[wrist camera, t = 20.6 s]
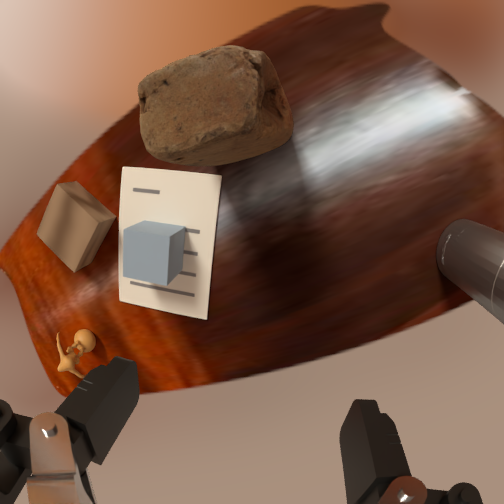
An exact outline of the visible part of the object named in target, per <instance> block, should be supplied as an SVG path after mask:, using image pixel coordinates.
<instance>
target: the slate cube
mask: <svg viewBox="0 0 504 504" xmlns="http://www.w3.org/2000/svg"><path fill="white" fill-rule="evenodd" d="M185 229H186V226H179V225H173V224H166V223H159V222H153V221H146V220H144V221H142V222H139V223H137V224H135V225H132V226H130V227H128V228H125V229H124V231H123V277H127V278H131V279H136V280H141V281H145V282H150V283H155V284H160V285H165V286H168V284H169V283H170V282H171V281H172V280H173V279H174V278H175V277H176V276H177V275H178V274H179V273H180V272H181V271H182V267H183V253H184V241H185Z"/></svg>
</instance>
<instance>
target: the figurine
mask: <svg viewBox="0 0 504 504" xmlns="http://www.w3.org/2000/svg"><path fill="white" fill-rule="evenodd" d="M74 343H75V344H73V345H72V346H71V347H68V349H67V353H69V354H68V355H64V353H63V351H62V348H61V346H60V340H59V333H58V334H57V346H58V350H59V353H60V358H61V362H60V364H59V366H58V371H60V372H62V371H70V372H72V373H74V374H75V375H77V376H78V377H80V378H84V377H85V376H86V375H87V374H86V375H81V374H80V373H79V372H77V371H76V370H75V369H74V367H75V364H78V363H79V359H80V358H79V357H80V356H82V355H83V352H90V351H91V350H93V349H94V347H95V345H96V339H95V336H94V334H93V333H92V332H91V331H89V330H87V329H82V330H79V331H78V332H77V333H76V334H75V337H74ZM76 347H77V348H78V349H79V350H80V351H81V352H79V353H78V355H76V354H75V353H74V350H73V348H76Z"/></svg>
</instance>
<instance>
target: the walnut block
mask: <svg viewBox="0 0 504 504" xmlns="http://www.w3.org/2000/svg"><path fill="white" fill-rule="evenodd" d="M115 218H116V216H115V215H114V214H113V213H112V212H110V211H109V210H108V209H107V208H106V207H105V206H104V205H102V204H101V203H100V202H99V201H98V200H97V199H96V198H95V197H93V196H92V195H91V194H90V193H89V192H88V191H87V190H86V189H85V188H84V187H82V186H81V185H80V184H79V183H78V182H77V181H75V182H68V183H61V184H57V185H56V188H55V190H54V192H53V194H52V197H51V199H50V201H49V204H48V206H47V209H46V211H45V214H44V216H43V219H42V221H41V224H40V226H39V229H38V232H37V235H38V236H39V237H40V238H41V240H42V241H43V242H44V243H45V244H46V245H47V246H48V247H49V248H50V249H51V250H52V251H53V252H54V253H55V254H56V255H57V256H58V257H59V258H60V259H61V260H62V261H63V262H64V263H65V264H66V265H67V266H68V267H69V268H70V269H71V270H72V271H73V272H76V271H78V270H80V269H81V268H83V267H85V266H87V265H88V264H90V263H92V261H93V259H94V257H95V255H96V253H97V251H98V249H99V247H100V245H101V243H102V242H103V240H104V238H105V236H106V234H107V232H108V231H109V229H110V227H111V225H112V223H113V222H114V220H115Z"/></svg>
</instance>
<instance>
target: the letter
mask: <svg viewBox="0 0 504 504" xmlns="http://www.w3.org/2000/svg"><path fill="white" fill-rule="evenodd" d="M221 180H222V176H221V175H213V174H204V173H194V172H185V171H174V170H163V169H150V168H136V167H123V168H122V179H121V193H120V212H119V298H120V301H123V302H127V303H131V304H135V305H139V306H144V307H148V308H152V309H157V310H161V311H166V312H171V313H175V314H180V315H185V316H190V317H195V318H200V319H205V320H207V315H208V303H209V292H210V281H211V270H212V260H213V250H214V241H215V231H216V222H217V213H218V205H219V196H220V188H221ZM144 220H146V221H153V222H159V223H166V224H173V225H179V226H186V229H185V241H184V253H183V267H182V271H181V272H180V273H179V274H178V275H177V276H176V277H175V278H174V279H173V280H172V281H171V282H170V283H169V284H168V286H165V285H160V284H155V283H150V282H145V281H141V280H136V279H131V278H127V277H123V231H124V229H125V228H128V227H130V226H132V225H135V224H137V223H139V222H142V221H144Z"/></svg>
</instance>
